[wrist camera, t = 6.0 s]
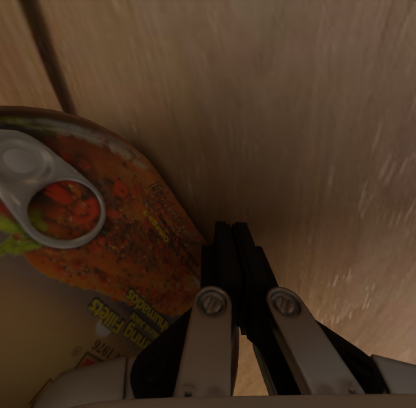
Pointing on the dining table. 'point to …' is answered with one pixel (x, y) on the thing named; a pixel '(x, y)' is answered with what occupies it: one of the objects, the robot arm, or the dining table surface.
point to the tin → (84, 251)
